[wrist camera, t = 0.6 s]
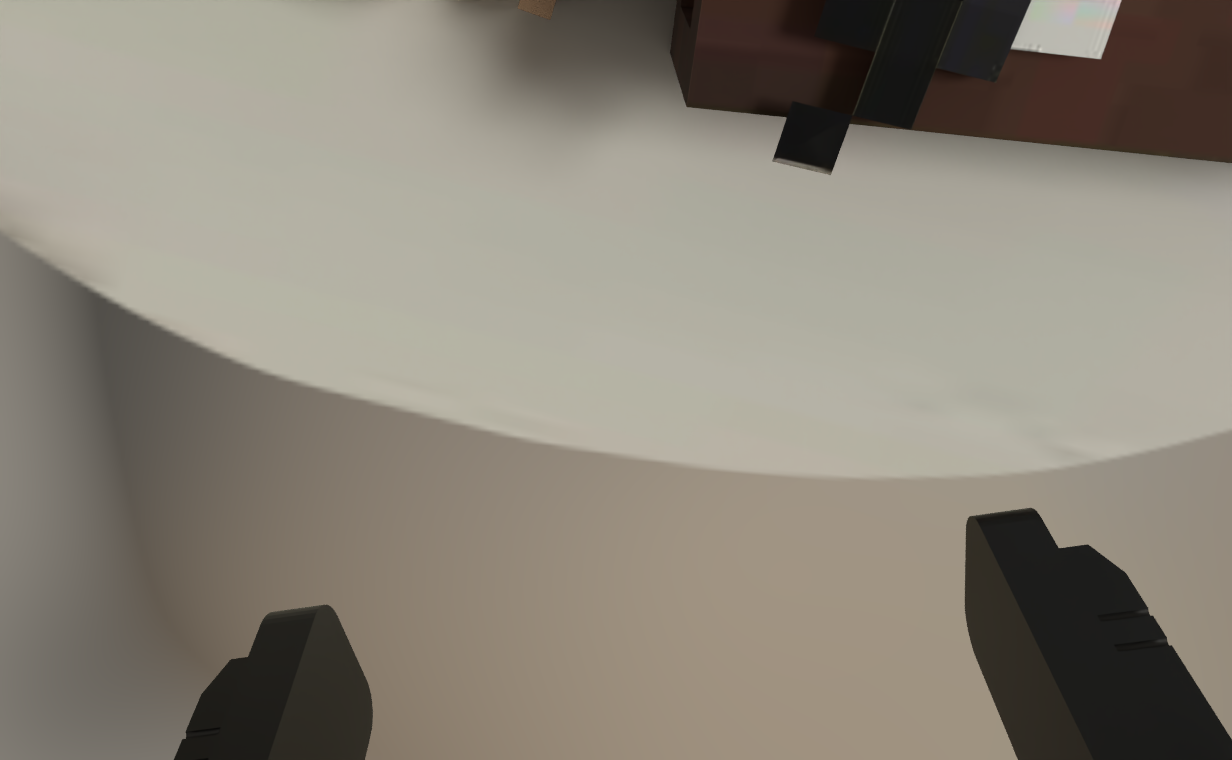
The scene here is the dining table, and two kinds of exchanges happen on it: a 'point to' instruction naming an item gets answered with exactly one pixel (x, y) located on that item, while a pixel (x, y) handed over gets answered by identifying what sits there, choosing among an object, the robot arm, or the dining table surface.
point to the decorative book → (967, 71)
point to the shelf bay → (538, 7)
